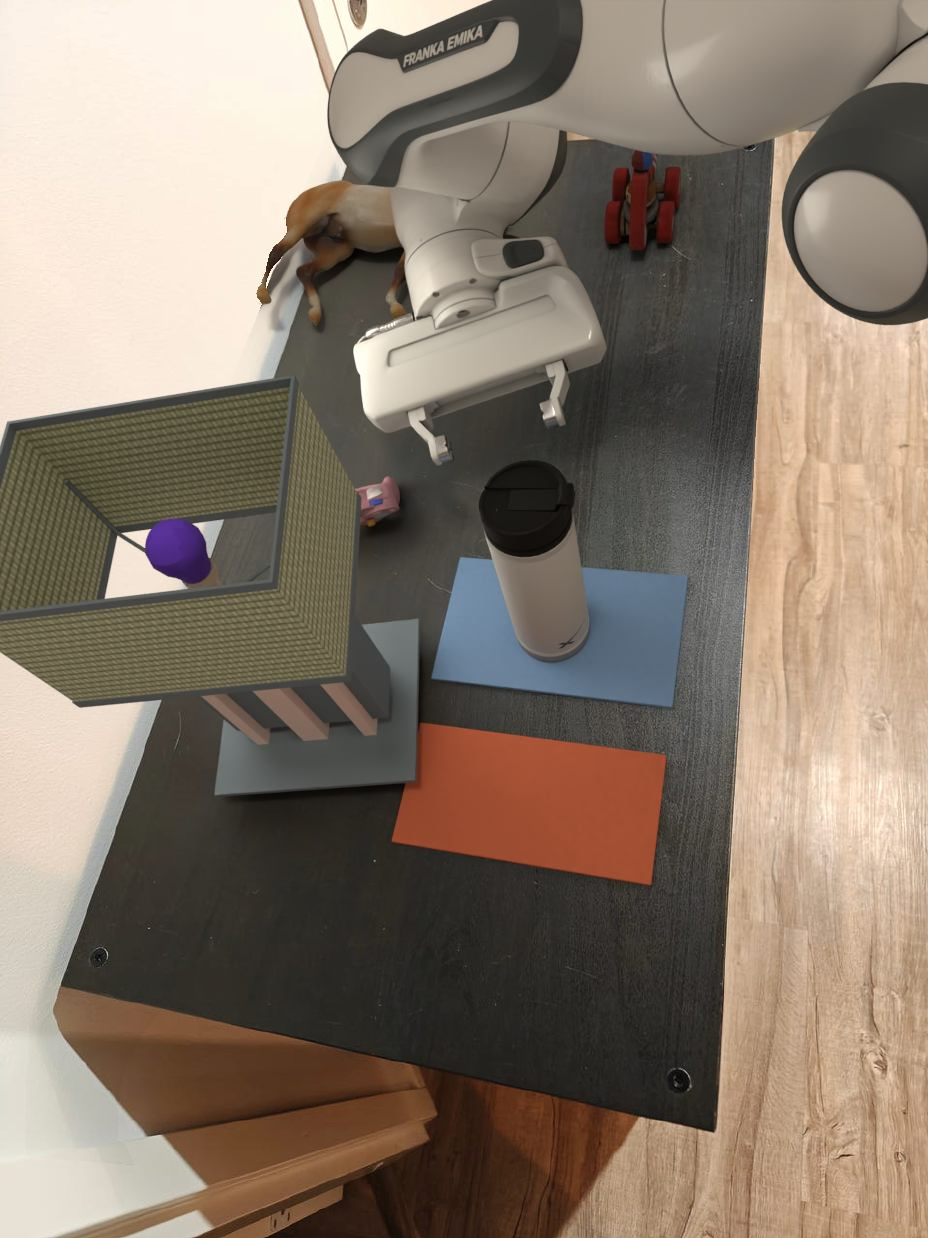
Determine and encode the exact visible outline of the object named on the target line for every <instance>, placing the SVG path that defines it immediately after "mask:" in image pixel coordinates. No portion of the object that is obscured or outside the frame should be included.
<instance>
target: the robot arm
mask: <svg viewBox="0 0 928 1238" xmlns="http://www.w3.org/2000/svg"><path fill="white" fill-rule="evenodd" d="M326 111H327V112H326V116H327V117H326V118H327V129H328V133H329V137H330V141H331V143H332V145H333V146H334V148H335V150H336V152H337V154H338V155H339V157H340V159H341V160H342V162H343V163H344V165H345V166H346V167H347V169H348V170H349V172H350V173H351V174H352V175H353V176H354V178H355V179H356V180H357V181H358V182H359V183H360V185H371V186H378V187H389V196H390V204H391V210H392V215H393V220H394V225H395V230H396V234H397V237H398V239H399V241H400V243H401V245H402V246H403V248H402V249H403V250H405V275H406V279H405V281H406V285H407V288H408V289H407V290H408V293H409V298H410V303H411V307H412V312H408V313H406V315H403V316H400V317H398V318H395V319H394V318H392V320H390V321H388V322H385V323H382V324H376V325H374V326H373V325H372V326H370V327H368V328H367V329H366V330H365V334H364V335H362V336H361V337H360V338H359V339H358V340H357V342H356V343H355V344H354V346H353V358H354V363H355V364H354V365H355V368H356V371H357V373H358V374H359V375H360V376H359V377H360V391H361V392H360V393H361V401H362V409H363V412H364V414H365V416H366V417H367V419H368V420H369V421H370V423H371V424H373V425H374V426H375V427H376V428H377V429H378V430H380V431H382V432H383V433H385V434H390V433H391V434H392V433H394V432H399V431H400V430H403V429H407V428H410V427H411V428H412V429H413V430H414V431H415V432H416V433H417V435H418V436H420V438H422V439H423V441H425V442H426V443H427V445H428V449H429V454H430V458H431V460H432V462H433V463H434V464H435V466H437V467H439V466H442V465H446V464H447V463H451V462H454V461H455V456H454V454H453V453H452V452H453V447H452V443H451V442H450V440H449V439H448V438H447V436H446V434H442V435H439V436H435V435H433V433H432V432H430V431H433V430H434V423H433V419H436V418H439V417H442V416H446V415H449V414H451V413H455V412H457V411H460V410H463V409H466V408H469V407H472V406H476V405H478V404H482V403H485V402H488V401H490V400H493V399H496V398H499V397H502V396H505V395H509V394H511V393H514V392H517V391H520V390H524V389H526V388H530V387H533V386H535V385H538V384H541V383H544V382H547V381H549V382H550V384H551V386H552V388H551V392H550V395H549V399H547V400H546V401H543V402H540V403H539V406H540V410H541V413H542V418H543V421H544V425H545V426H546V429H547V431H550V430H554V429H557V428H560V427H563V426H566V424H567V423H566V422H567V421H566V419H565V414H564V411H563V406H564V404H565V401H566V398H567V395H568V392H569V388H570V386H571V383H570V379H569V375H568V374H571V373H574V372H577V371H580V370H583V369H586V368H589V367H592V366H596V365H598V364H600V363H601V362H602V360H603V358H604V356H605V353H606V351H607V344H606V340H605V336H604V334H603V331H602V327H601V325H600V321H599V318H598V316H597V314H596V310H595V308H594V305H593V303H592V301H591V298H590V296H589V293H587V290H586V288H585V286H584V285H583V283H582V280H581V279H580V277H579V276H578V275H577V274H576V273H575V272H574V271H573V270H571V269H570V268H569V265H568V262H567V260H566V257H565V255H564V253H563V251H562V249H561V247H560V245H559V242H557V240H556V239H555V238H554V237H552V236H533V237H532V236H531V237H519V238H518V239H503V234H505V230H506V228H508V227H512V226H514V225H515V224H517V223H518V222H519V221H520V220H522V219H523V218H524V217H525V216H526V215H527V214H529V213H530V211H531V210H533V208H535V207H536V206H537V205H538V203H539V202H540V201H542V200H543V198H544V197H545V196H546V195H548V193H549V192H550V191H551V190H552V189H553V188H554V186H555V185H556V183H557V182H558V180H559V179H560V177H561V176H562V173H563V171H564V169H565V165H566V161H567V155H568V133H570V134H574V135H578V136H582V137H586V138H589V139H593V140H596V141H601V142H603V143H607V144H611V145H614V146H619V147H621V148H625V149H630V150H634V151H635V150H638V151H642V152H647V153H653V154H658V155H662V156H706V155H716V154H721V153H726V152H730V151H735V150H739V149H743V148H746V147H749V146H752V145H756V144H761V143H763V142H766V141H770V140H773V139H777V138H780V137H782V136H785V135H787V134H791V133H793V132H796V131H798V132H799V133H804V132H805V133H806V132H810V133H811V132H815V133H814V134H813V135H812V137H811V139H810V140H809V141H808V143H807V144H806V145H805V147H804V149H803V150H802V151H801V153H800V155H799V156H798V158H797V160H796V162H795V163H794V165H793V167H792V169H791V171H790V173H789V176H788V178H787V181H786V183H785V187H784V190H783V194H782V195H783V196H782V201H781V227H782V232H783V238H784V241H785V245H786V249H787V251H788V254H789V256H790V258H791V260H792V263H793V265H794V266H795V268H796V270H797V271H798V273H799V275H800V277H801V278H802V279H803V281H804V282H805V283H806V284H807V286H808V287H809V288H810V289H811V290H812V291H813V292H814V294H815V295H817V297H819V298H820V299H821V300H822V301H823V302H825V303H826V304H827V305H828V306H830V307H831V308H833V309H835V310H836V311H837V312H839V313H841V314H843V315H845V316H848V317H849V318H851V319H853V320H857V321H860V322H863V323H867V324H872V325H876V326H877V325H879V326H901V325H907V324H909V325H910V324H913V323H917V322H921V321H925V320H928V0H489V1H487V2H484V3H482V4H478V5H477V6H473V7H472V8H470V9H466V10H464V11H462V12H460V13H458V14H455V15H453V16H451V17H448V18H446V19H443V20H441V21H439V22H436V23H435V24H432V25H429V26H427V27H424V28H423V29H420V30H418V31H415V32H413V33H409V34H407V35H403V34H399V33H396V32H393V31H392V30H389V29H385V28H377V29H375V30H374V31H372V32H370V33H369V34H367V35H366V36H364V37H363V38H362V39H360V40H359V41H357V42H356V43H355V45H353V46H352V47H351V48H350V49H349V50H348V51H347V52H346V53H345V54H344V56H343V57H342V58H341V59H340V61H339V63H338V64H337V66H336V69H335V72H334V74H333V76H332V80H331V83H330V87H329V92H328V99H327V110H326Z"/></svg>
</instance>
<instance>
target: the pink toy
mask: <svg viewBox="0 0 928 1238" xmlns="http://www.w3.org/2000/svg"><path fill="white" fill-rule="evenodd" d="M355 490H356V491H358V493H359V495H360V496H361V498H362V501H361V518H360V526H368V527H373V526H375V525H376V523H377V522H380V521H381V520H383V519H384V518H386V517H387V516H389V515H392V514H394V513H396V512H397V511H399V510H400V506H399V504H400V500H401V493H400V489H399V485H398V484H397V482H396V480H395V479H394V478H393V477H392V476H389V475H388V476H386V477H384V479H383V480H382V482H381V483H375V484H371V485H370V484H369V485H366V486H361V487H357V488H355Z"/></svg>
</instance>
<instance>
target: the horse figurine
mask: <svg viewBox="0 0 928 1238" xmlns="http://www.w3.org/2000/svg"><path fill="white" fill-rule="evenodd" d="M288 209H289V210H287V212H286V216H285V218H286V226H287V233H286V235H285V236H284V238H283V239H282V240H281V241H280V242H279V243H278V244H276V245H275V246H274V247H273V249H272V251H271V252H270V254H269V258H268V262H267V266H266V272H265V274H264V277H263V279H262V282H261V283H262V284H261V285H260V286H259V287H258V290H257V293H256V294H257V298H258V299H259V300H260V302H261V303H260V304H262V305H269V304H271V303H272V297H271V295H270V292H269V289H268V287H267V288H266V282H267V278H268V276H269V273H270V271H271V269H272V268H273V266H274V265H275V264H276V263H277V262H278V261H279V260H280V259H281V257H282V256H283V257H284V255H285V254H286V253H288V251H289V250H291V249H292V248H293V247H295V246H296V245H298V243H299V242H300V241H301V240H302V241H303V243H304V245H305V248H306V249H307V250H308V251H309V252H310V253H311V254H313V255H315V257H313V258H312V259H311V260H309V261H308V262H306V263H304V264H302V265H299V266H297V267H296V269H295V276H296V277H297V279H298V280H299V281H300V282H301V284H302V286H303V288H304V291H305V293H306V296H307V299H308V303H309V305H310V306H311V308H309V311H308V313H307V316H308V319H309V320H310V321H311V323H312V324H313V325H314V326H316V327H318V326H319V324H320V321H321V317H322V302H321V299H320V297H319V294H318V293H317V290H316V288H315V286H314V284H313V282H314V281H313V280H314V277H315V276H316V274H318V273H322V272H326V271H329V270H330V269H332V268H333V267H335V266H336V265H337V264H338V263H339V262H343V261H345V260H347V259H348V258H349V257H351V256H352V254H353V253H354V250H355V249H359V250H361V251H365V252H369V253H382V252H386V251H389V250H393V249H397V248H402V249H403V250H404V248H403V246H402V245H401V243H400V241H399V239H398V237H397V234H396V230H395V225H394V220H393V215H392V210H391V204H390V196H389V187H385V186H376V185H366V184H355V183H353V182H350V181H347V180H332V181H329V182H326V183H322V184H319V185H316V186H313V187H311V188H309V189H306V190H304V191H303V192H301V193H300V194H299V195H298V196H297V197H296V198H295V199H294V200H293V201H292V202H291V204H290V205H289V208H288ZM405 281H406V275H405V250H404V251H403V252H402V254H401V257H400V259H399V261H398V263H397V265H396V266H395V269H394V272H393V278H392V282H391V285H390V287H389V289H388V292H387V293H386V294H385V299H384V300H385V302H386V304H387V305H389V306H390V308H389V313H390V316H391V318H392V319H395V318H398V317H400V316H403V315H406V314H407V312H406V310H405V308H404V307H403V305H402V304H401V303H399V302H398V301H397V293H398V291H399V289H400V286H401V284H403V283H404V282H405Z"/></svg>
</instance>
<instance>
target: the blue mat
mask: <svg viewBox="0 0 928 1238" xmlns="http://www.w3.org/2000/svg"><path fill="white" fill-rule="evenodd" d="M581 568H582V575H583V581H584V588H585V594H586V601H587V607H588V614H589V620H590V633H589V637H588V639H587V641H586V643H585V645H584V646H583V647H582V648H581V649H580V650H579V651H578V652H577V653H576V654H574V655H573V656H571V657H569V658H567V659H564V660H561V661H555V662H547V661H541V660H538V659H536V658H533V657H532V656H530V655H528V654H527V653H526V652H525V651H524V650H523V649H522V647H521V646H520V644H519V642H518V640H517V637H516V634H515V630H514V627H513V624H512V621H511V618H510V614H509V611H508V608H507V605H506V601H505V598H504V595H503V592H502V589H501V585H500V582H499V579H498V576H497V572H496V569H495V566H494V563H493V559H490V558H489V559H488V558H477V557H464V556H460V557H459V561H458V565H457V569H456V573H455V576H454V580H453V586H452V590H451V593H450V598H449V601H448V606H447V611H446V614H445V618H444V623H443V627H442V631H441V636H440V639H439V643H438V646H437V652H436V656H435V660H434V664H433V668H432V671H431V677H430V679H431V680H432V681H439V682H444V683H445V682H446V683H455V684H463V685H472V686H480V687H488V688H496V689H503V690H504V689H505V690H514V691H521V692H529V693H537V694H538V693H539V694H544V695H545V694H546V695H554V696H562V697H571V698H580V699H588V700H596V701H605V702H613V703H621V704H630V705H638V706H647V707H655V708H664V709H673V707H674V700H675V692H676V683H677V673H678V667H679V657H680V650H681V641H682V632H683V624H684V615H685V608H686V600H687V599H686V598H687V590H688V583H689V576H688V575H683V574H682V575H680V574H669V573H657V572H645V571H643V572H642V571H635V570H634V571H632V570H620V569H608V568H598V567H597V568H596V567H585V566H581Z"/></svg>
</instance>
